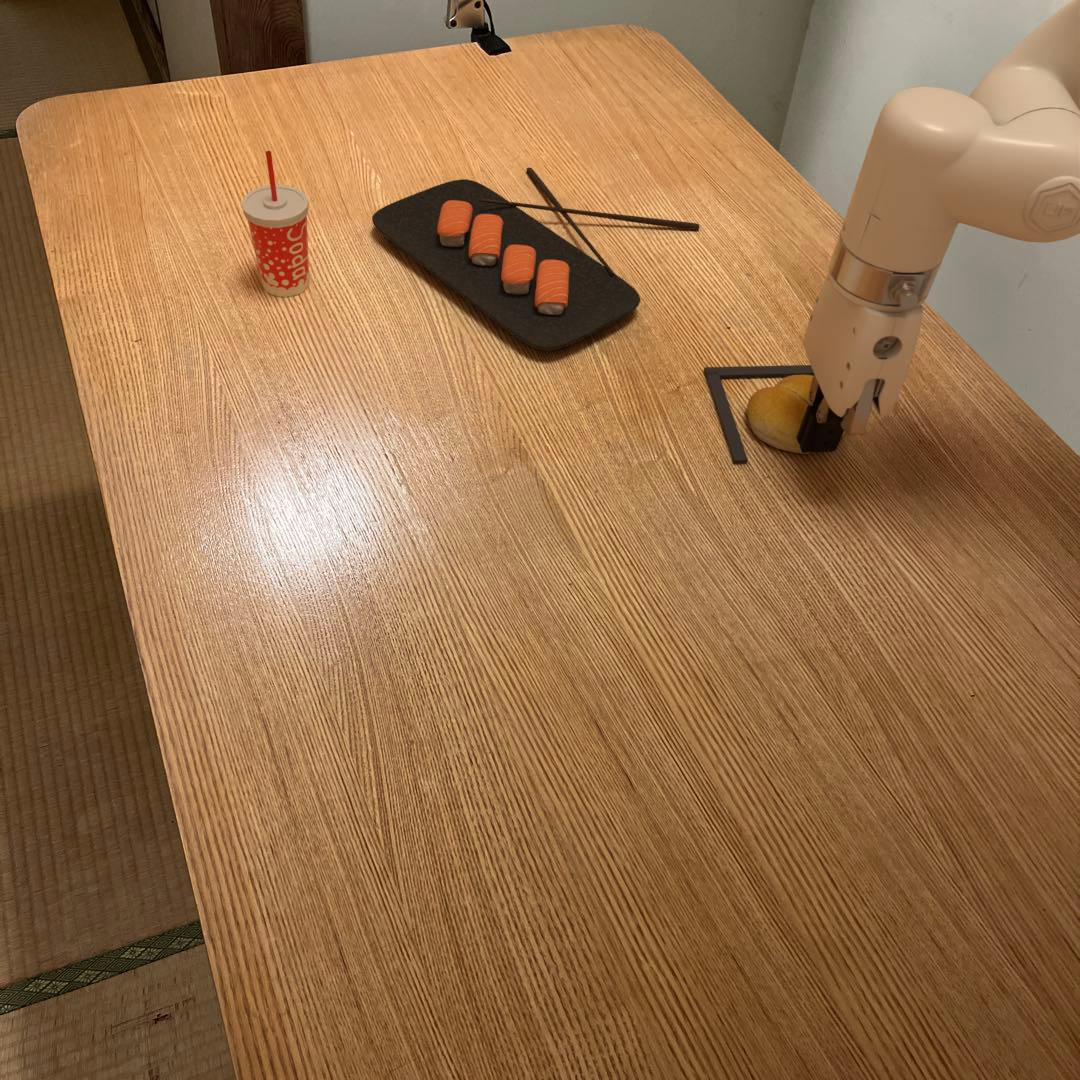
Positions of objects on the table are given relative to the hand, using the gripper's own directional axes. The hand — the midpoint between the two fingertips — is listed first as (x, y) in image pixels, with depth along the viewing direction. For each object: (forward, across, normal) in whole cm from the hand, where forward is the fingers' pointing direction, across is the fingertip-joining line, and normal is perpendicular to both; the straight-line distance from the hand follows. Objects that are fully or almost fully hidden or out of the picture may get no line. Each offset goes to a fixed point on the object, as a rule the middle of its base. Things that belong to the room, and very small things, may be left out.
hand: (815, 445), depth 93 cm
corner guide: (+2, +6, -1) cm, 6 cm away
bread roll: (+2, +5, 0) cm, 6 cm away
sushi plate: (+3, +34, +18) cm, 38 cm away
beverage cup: (+3, +28, +46) cm, 54 cm away
